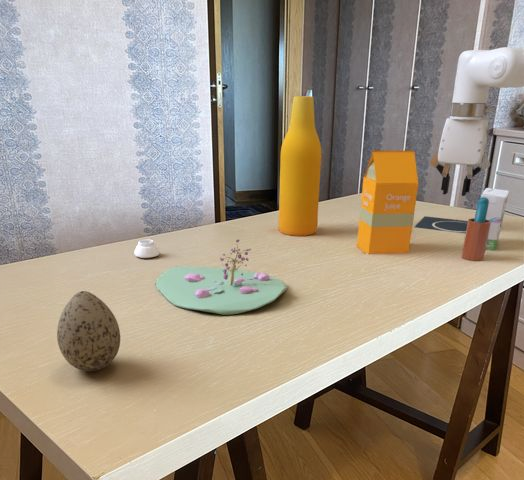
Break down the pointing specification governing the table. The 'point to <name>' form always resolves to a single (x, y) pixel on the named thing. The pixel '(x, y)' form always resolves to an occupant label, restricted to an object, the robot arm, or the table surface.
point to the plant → (219, 287)
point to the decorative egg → (88, 333)
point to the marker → (481, 210)
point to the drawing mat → (443, 224)
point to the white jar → (146, 249)
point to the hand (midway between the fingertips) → (454, 193)
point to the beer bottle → (300, 172)
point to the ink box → (495, 214)
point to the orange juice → (388, 202)
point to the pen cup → (475, 240)
